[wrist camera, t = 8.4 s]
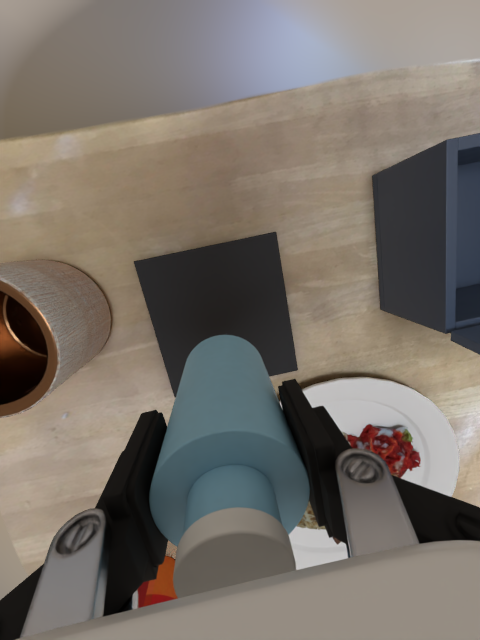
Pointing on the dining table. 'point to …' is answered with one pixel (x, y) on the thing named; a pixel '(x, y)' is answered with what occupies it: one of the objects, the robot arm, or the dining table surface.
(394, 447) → the plated food
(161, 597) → the coffee cup
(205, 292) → the mat
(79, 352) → the planter
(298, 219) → the dining table surface
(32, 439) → the dining table surface
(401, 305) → the chest
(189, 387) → the bottle
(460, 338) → the lid
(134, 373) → the dining table surface
